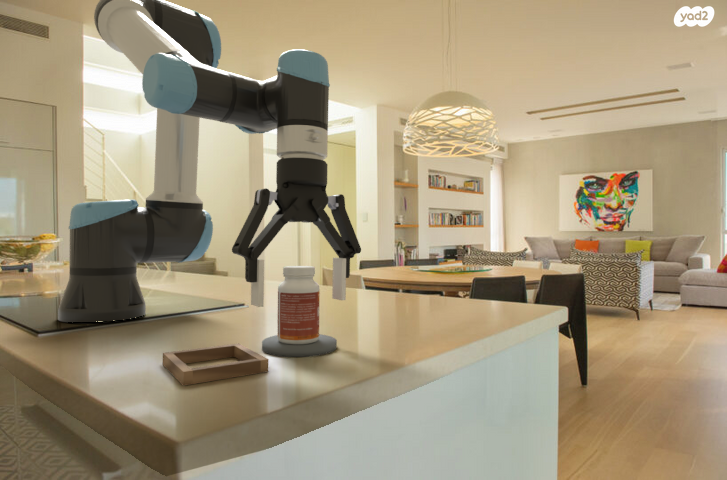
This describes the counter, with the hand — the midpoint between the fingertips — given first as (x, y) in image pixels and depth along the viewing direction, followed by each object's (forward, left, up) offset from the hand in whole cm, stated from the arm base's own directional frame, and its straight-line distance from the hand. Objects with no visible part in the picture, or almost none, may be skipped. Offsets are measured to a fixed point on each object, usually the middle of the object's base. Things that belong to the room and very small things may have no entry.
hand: (300, 302), depth 69 cm
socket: (+4, -14, -7) cm, 16 cm away
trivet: (0, 0, -7) cm, 7 cm away
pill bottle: (0, 0, -6) cm, 6 cm away
